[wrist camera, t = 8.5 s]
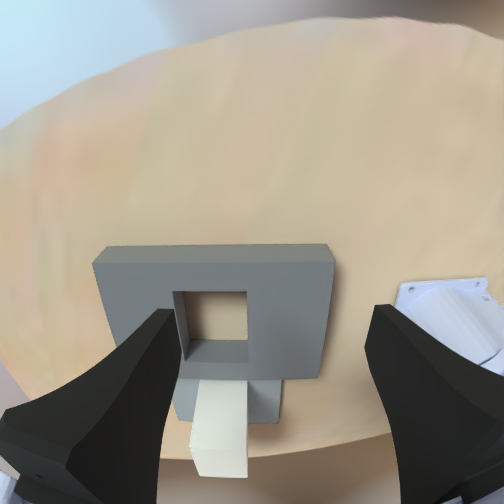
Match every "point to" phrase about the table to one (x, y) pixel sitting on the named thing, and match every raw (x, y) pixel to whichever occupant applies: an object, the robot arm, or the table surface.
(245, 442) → the plug
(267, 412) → the mat
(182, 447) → the table surface
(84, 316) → the table surface
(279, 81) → the table surface
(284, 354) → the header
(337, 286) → the table surface
